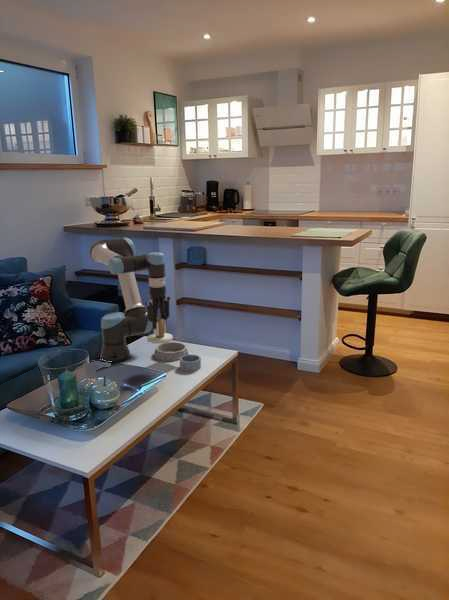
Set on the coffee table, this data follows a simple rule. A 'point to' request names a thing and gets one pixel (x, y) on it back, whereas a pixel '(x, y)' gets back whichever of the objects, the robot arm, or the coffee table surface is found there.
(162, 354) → the dog bowl
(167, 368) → the mat
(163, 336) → the cover
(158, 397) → the coffee table surface
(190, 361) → the bowl
